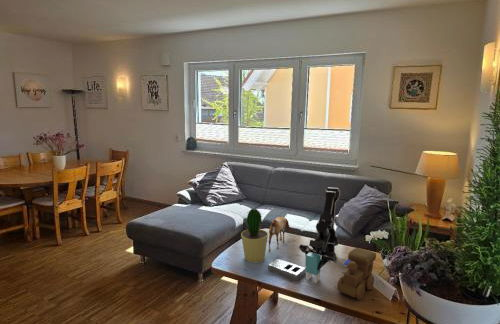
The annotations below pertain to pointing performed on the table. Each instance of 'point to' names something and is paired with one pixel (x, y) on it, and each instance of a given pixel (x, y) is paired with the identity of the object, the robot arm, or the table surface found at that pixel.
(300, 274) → the grey block with holes
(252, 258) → the potted cactus
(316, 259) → the clip
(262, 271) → the table surface
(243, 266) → the table surface
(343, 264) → the hard drive
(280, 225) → the horse figurine
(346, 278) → the wooden toy train
